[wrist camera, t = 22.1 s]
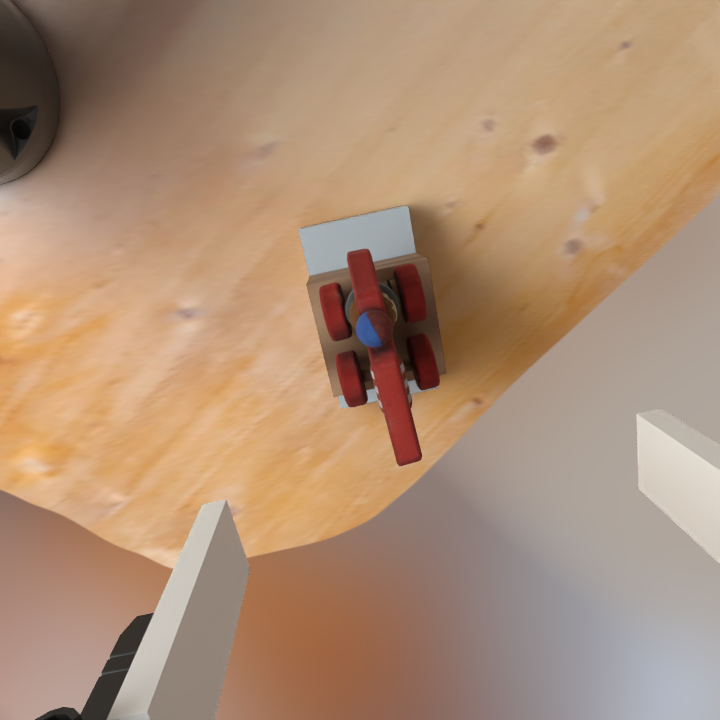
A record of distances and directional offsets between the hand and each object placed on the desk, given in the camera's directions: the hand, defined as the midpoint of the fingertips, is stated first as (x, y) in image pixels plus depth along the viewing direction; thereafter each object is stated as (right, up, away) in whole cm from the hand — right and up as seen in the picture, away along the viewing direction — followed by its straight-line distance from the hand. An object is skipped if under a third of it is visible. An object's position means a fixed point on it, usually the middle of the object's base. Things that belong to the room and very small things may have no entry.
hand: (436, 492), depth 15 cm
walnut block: (-1, +8, +25) cm, 27 cm away
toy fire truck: (-1, +7, +21) cm, 22 cm away
